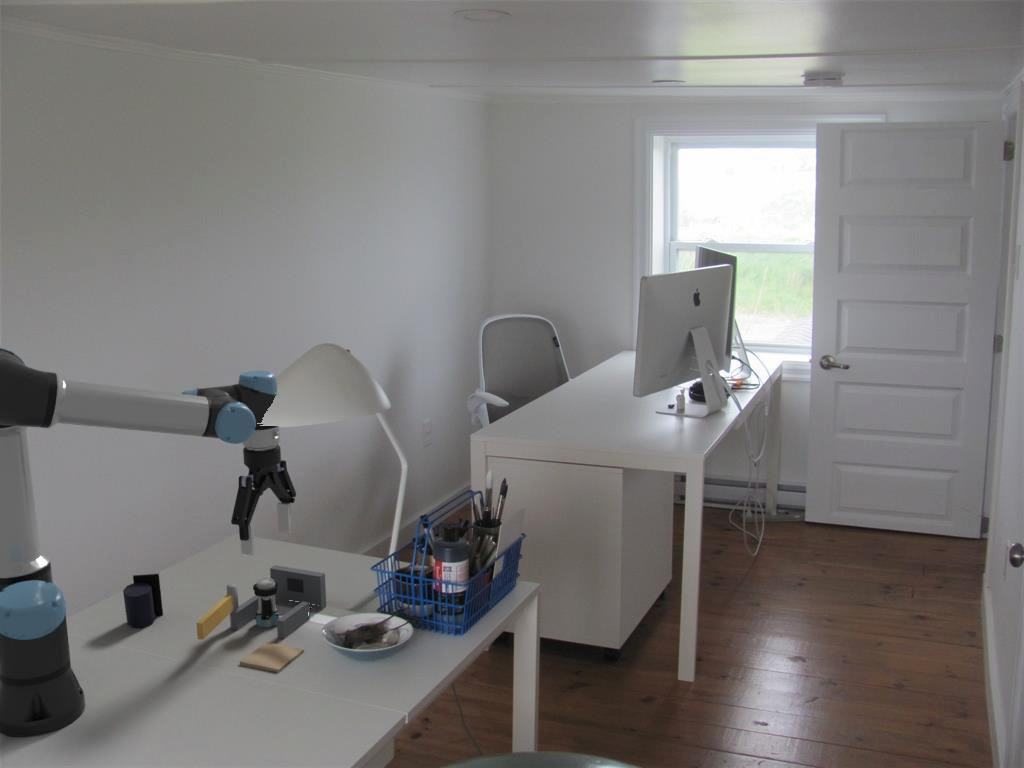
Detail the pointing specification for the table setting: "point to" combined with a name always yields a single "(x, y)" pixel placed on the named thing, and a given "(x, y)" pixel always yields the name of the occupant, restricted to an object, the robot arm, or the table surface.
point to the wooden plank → (218, 612)
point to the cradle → (287, 599)
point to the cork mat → (271, 657)
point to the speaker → (143, 600)
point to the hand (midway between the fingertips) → (266, 542)
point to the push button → (266, 602)
